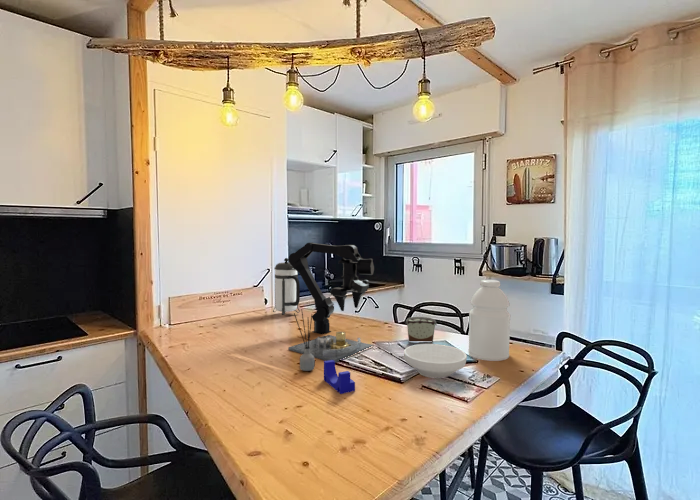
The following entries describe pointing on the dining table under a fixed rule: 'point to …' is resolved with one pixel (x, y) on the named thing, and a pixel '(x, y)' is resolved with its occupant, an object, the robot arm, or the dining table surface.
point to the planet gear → (340, 341)
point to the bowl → (435, 359)
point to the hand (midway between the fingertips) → (349, 309)
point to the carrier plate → (323, 348)
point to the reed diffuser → (306, 351)
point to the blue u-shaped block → (338, 378)
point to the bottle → (489, 323)
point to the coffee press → (286, 288)
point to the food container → (420, 328)
